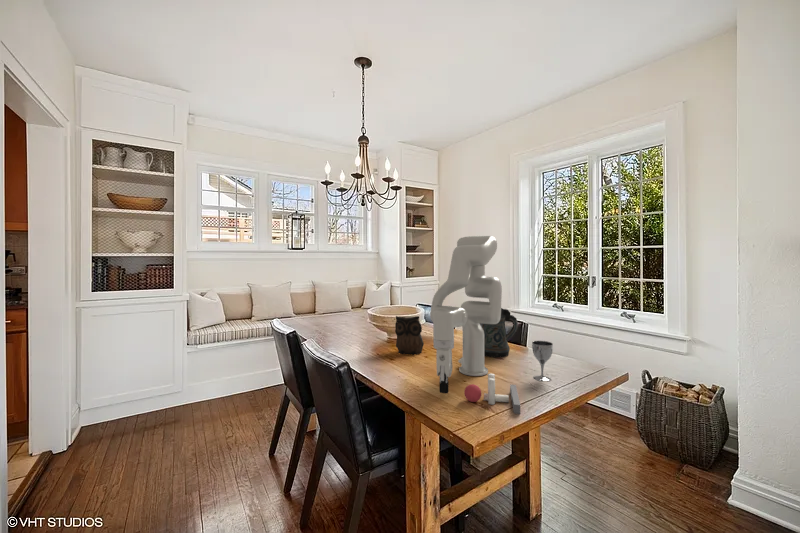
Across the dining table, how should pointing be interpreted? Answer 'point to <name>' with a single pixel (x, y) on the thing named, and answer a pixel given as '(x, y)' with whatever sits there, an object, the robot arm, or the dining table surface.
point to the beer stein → (498, 336)
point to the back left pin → (491, 376)
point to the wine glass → (542, 356)
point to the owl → (408, 335)
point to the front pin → (498, 398)
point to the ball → (472, 393)
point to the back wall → (515, 399)
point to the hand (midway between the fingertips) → (444, 392)
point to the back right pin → (491, 391)
